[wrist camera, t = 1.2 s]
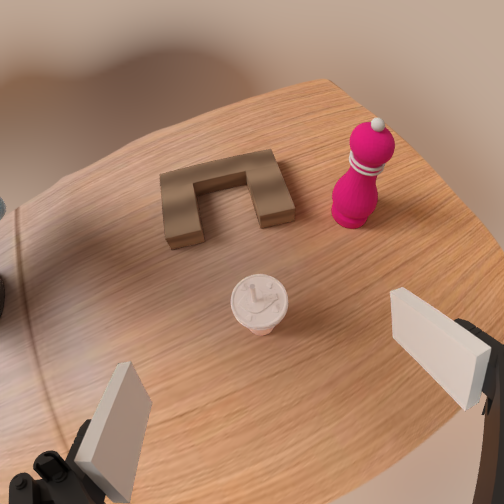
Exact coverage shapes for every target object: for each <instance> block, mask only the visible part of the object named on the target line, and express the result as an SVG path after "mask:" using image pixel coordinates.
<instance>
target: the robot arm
mask: <svg viewBox="0 0 504 504" xmlns="http://www.w3.org/2000/svg"><path fill="white" fill-rule="evenodd" d="M5 212H6V205H5V203H4V201H3V200H2V198H1V197H0V220H1V219H2V217H3V216H4V215H5ZM390 298H391V313H392V333H393V338H394V339H395V340H396V341H397V342H398V343H399V344H400V345H401V346H402V347H403V348H404V349H405V350H406V351H407V352H408V353H409V354H410V355H411V356H412V357H413V358H414V359H415V360H416V361H417V362H418V363H419V364H420V365H421V366H422V367H423V368H424V369H425V370H426V371H427V372H428V373H429V374H430V375H431V376H432V377H433V378H434V379H435V380H436V382H437V383H438V384H439V385H440V386H441V387H442V388H443V389H444V390H445V391H446V392H447V393H448V394H449V395H450V396H451V397H452V398H453V399H454V400H455V401H456V402H457V403H458V404H459V405H460V406H461V408H462V409H463V410H464V411H466V410H468V409H469V408H471V407H473V406H474V405H475V404H477V403H479V400H480V396H481V392H483V393H485V395H486V396H487V399H486V402H485V406H484V409H483V412H482V415H484V414H485V422H484V434H483V445H482V452H481V461H480V467H479V474H478V479H477V484H476V489H475V494H474V499H473V503H472V504H504V345H503V344H501V343H500V342H498V341H497V340H495V339H494V338H492V337H491V336H490V335H488V334H487V333H485V332H484V331H483V332H482V330H481V329H479V328H478V327H477V328H476V326H475V325H473V324H472V323H470V322H469V321H466V320H462V319H459V318H458V319H456V320H454V321H453V320H452V319H450V318H449V317H447V316H446V315H444V314H443V313H441V312H440V311H438V310H437V309H435V308H434V307H432V306H431V305H429V304H428V303H426V302H425V301H423V300H422V299H420V298H419V297H417V296H416V295H414V294H413V293H411V292H410V291H408V290H407V289H405V288H404V287H401V288H398V289H395V290H392V291H390ZM3 304H4V285H3V282H2V279H1V277H0V316H1V313H2V309H3ZM151 406H152V401H151V399H150V397H149V395H148V394H147V392H146V390H145V388H144V386H143V384H142V382H141V380H140V378H139V376H138V374H137V372H136V370H135V368H134V366H133V364H132V362H131V361H129V362H124V363H118V364H117V366H116V368H115V370H114V372H113V375H112V377H111V379H110V381H109V383H108V385H107V387H106V389H105V391H104V394H103V396H102V398H101V400H100V402H99V404H98V407H97V409H96V411H95V413H94V415H93V418H92V419H89V420H86V421H85V423H84V424H83V425H82V426H81V427H80V429H79V431H78V433H77V437H76V438H75V440H74V444H72V446H71V449H70V451H69V453H68V456H67V458H66V460H65V461H64V460H63V459H62V457H61V456H60V455H59V454H58V453H57V452H55V451H46V452H43V453H42V454H40V455H39V456H38V457H37V458H36V459H35V461H34V464H33V469H34V470H35V471H36V472H37V473H38V474H39V475H40V477H41V478H42V479H40V480H34V479H33V478H32V477H31V476H30V475H29V474H28V473H20V474H17V475H16V476H14V477H13V479H12V480H11V482H10V486H9V504H106V503H105V502H104V499H105V495H106V496H107V497H108V498H109V499H110V500H111V501H113V502H115V503H130V500H131V495H132V490H133V485H134V480H135V475H136V470H137V466H138V461H139V457H140V452H141V448H142V443H143V439H144V435H145V431H146V427H147V422H148V418H149V414H150V410H151Z"/></svg>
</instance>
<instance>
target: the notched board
mask: <svg viewBox="0 0 504 504" xmlns="http://www.w3.org/2000/svg"><path fill="white" fill-rule="evenodd" d="M246 184H247V186H248V189H249V192H250V195H251V199H252V202H253V205H254V208H255V211H256V215H257V218H258V221H259V225H260V228H265V227H270V226H274V225H278V224H283V223H287V222H292V221H294V216H295V206H294V203H293V201H292V198H291V196H290V193H289V191H288V188H287V186H286V183H285V181H284V179H283V176H282V174H281V171H280V169H279V166H278V164H277V162H276V159H275V157H274V155H273V152H272V150H271V149H268V150H263V151H258V152H252V153H248V154H243V155H238V156H233V157H229V158H224V159H220V160H215V161H211V162H207V163H202V164H198V165H194V166H190V167H186V168H182V169H178V170H174V171H170V172H167V173H163V174H160V186H161V199H162V210H163V221H164V231H165V239H166V241H167V243H168V244H169V246H170V248H171V250H173V249H177V248H181V247H185V246H189V245H194V244H198V243H202V242H205V239H204V234H203V228H202V223H201V218H200V212H199V206H198V201H197V196H198V195H203V194H207V193H211V192H215V191H219V190H224V189H228V188H232V187H237V186H241V185H246Z"/></svg>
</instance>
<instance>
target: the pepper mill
mask: <svg viewBox="0 0 504 504" xmlns="http://www.w3.org/2000/svg"><path fill="white" fill-rule="evenodd" d="M350 148H351V152H350V156H349V162H350V164H351V166H350V169H349V170H348V171H347V173H346V174H344V175H343V176H342V177H341V178H340V179H339V180H338V182H337V183H336V185H335V187H334V189H333V193H332V199H333V205H332V209H331V211H332V216H333V218H334V219H335V221H336V222H337V223H338V224H340V225H341V226H343V227H345V228H350V229H353V228H359V227H361V226H362V225H364V224H365V222H366V220H367V218H368V216H369V215H370V214H371V213H372V212H373V211H374V210H375V208H376V205H377V201H378V192H377V188H376V178H377V175H378V174H380V173H381V172H382V171H383V169H384V166H385V163H386V162H387V161H389V160H390V159H391V157H392V155H393V153H394V149H395V142H394V138H393V136H392V134H391V133H390V131H389V130H388V129H387V128H386V127H385V123H384V121H383V120H382V119H381V118H374V119H373V120H372V121H371V122H365V123H362V124H360V125H358V126H357V127H356V128H355V129H354V130H353V132H352V134H351V136H350Z"/></svg>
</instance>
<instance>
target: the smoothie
mask: <svg viewBox="0 0 504 504" xmlns="http://www.w3.org/2000/svg"><path fill="white" fill-rule="evenodd" d="M231 308H232V311H233V315H234V316H235V318H236V319H237V321H238V322H240V323H241V324H242V325H243V326H245V327H247V328H249V329H250V330H251V332H253V333H254V334H256V335H260V336H263V335H267V334H269V333H270V332H271V331H272V330H273V328H274V327H275V325H277V324H278V323H280V321H281V320H282V319H283V318H284V316H285V314H286V312H287V309H288V295H287V292H286V289H285V288H284V286H283V285H282V284H281V282H280V281H278V280H277V279H276V278H274V277H272V276H269V275H265V274H254V275H250V276H248V277H245V278H244V279H242V280H241V281H240V282H239V283H238V284H237V285H236V286H235V288H234V290H233V292H232V295H231Z"/></svg>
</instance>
